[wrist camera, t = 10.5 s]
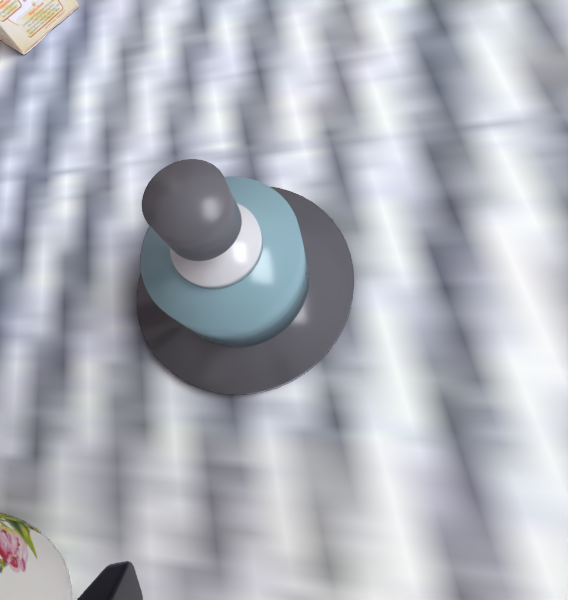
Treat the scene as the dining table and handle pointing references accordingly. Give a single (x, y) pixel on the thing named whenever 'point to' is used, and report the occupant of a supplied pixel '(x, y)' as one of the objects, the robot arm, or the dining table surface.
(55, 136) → the dining table surface
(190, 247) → the knob
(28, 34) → the coffeecake box
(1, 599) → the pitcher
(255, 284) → the tiered round stand
